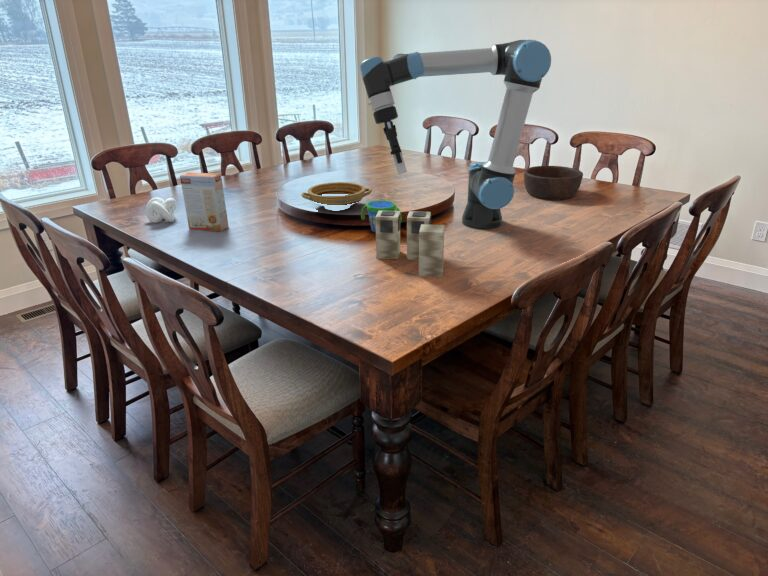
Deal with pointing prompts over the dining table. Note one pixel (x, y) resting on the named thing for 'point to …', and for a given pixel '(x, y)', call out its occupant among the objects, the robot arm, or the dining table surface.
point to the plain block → (431, 250)
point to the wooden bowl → (552, 182)
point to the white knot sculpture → (160, 209)
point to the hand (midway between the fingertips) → (402, 173)
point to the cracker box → (204, 201)
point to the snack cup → (375, 207)
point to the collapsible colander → (351, 189)
